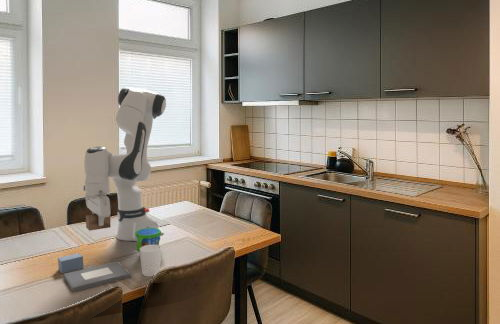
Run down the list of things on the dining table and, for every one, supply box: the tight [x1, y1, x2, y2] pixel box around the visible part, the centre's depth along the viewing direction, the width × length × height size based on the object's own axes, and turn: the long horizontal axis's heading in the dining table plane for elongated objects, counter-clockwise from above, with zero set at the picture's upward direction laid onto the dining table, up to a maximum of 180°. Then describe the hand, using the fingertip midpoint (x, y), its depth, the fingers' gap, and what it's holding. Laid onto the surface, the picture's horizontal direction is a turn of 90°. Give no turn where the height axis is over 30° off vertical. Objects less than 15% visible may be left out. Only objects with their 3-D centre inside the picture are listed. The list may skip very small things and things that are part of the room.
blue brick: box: [57, 252, 84, 274], centre depth 156 cm, size 8×4×5 cm, turn 130°
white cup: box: [139, 244, 162, 277], centre depth 152 cm, size 8×8×10 cm
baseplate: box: [63, 261, 131, 293], centre depth 148 cm, size 20×14×2 cm
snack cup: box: [135, 228, 161, 253], centre depth 171 cm, size 16×10×10 cm
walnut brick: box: [85, 214, 111, 232], centre depth 155 cm, size 8×4×5 cm, turn 126°
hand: (98, 223), depth 156 cm, fingers closed on walnut brick, 4 cm apart
